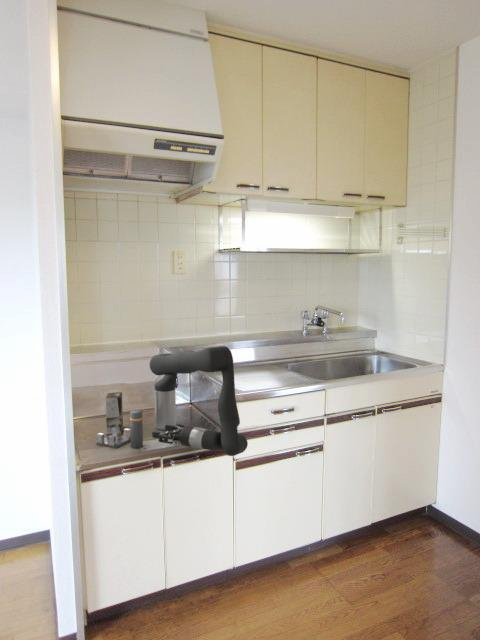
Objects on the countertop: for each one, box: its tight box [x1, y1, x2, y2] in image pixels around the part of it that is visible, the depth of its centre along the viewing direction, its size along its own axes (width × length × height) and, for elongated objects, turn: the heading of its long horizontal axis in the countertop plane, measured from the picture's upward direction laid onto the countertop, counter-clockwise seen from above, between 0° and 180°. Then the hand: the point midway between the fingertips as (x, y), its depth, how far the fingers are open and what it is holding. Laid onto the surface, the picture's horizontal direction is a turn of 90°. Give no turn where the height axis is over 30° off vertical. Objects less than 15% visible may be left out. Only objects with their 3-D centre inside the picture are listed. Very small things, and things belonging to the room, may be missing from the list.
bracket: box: [95, 426, 131, 449], centre depth 186 cm, size 10×10×4 cm
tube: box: [129, 410, 144, 449], centre depth 181 cm, size 5×5×14 cm
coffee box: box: [105, 391, 124, 435], centre depth 199 cm, size 9×6×16 cm
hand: (159, 430), depth 176 cm, fingers open, 8 cm apart
